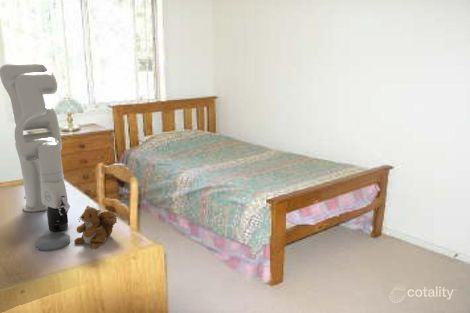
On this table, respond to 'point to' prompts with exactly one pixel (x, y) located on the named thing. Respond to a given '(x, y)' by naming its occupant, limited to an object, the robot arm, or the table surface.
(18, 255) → the table surface
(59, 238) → the slate plate
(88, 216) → the stuffed squirrel
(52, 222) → the supplement bottle
